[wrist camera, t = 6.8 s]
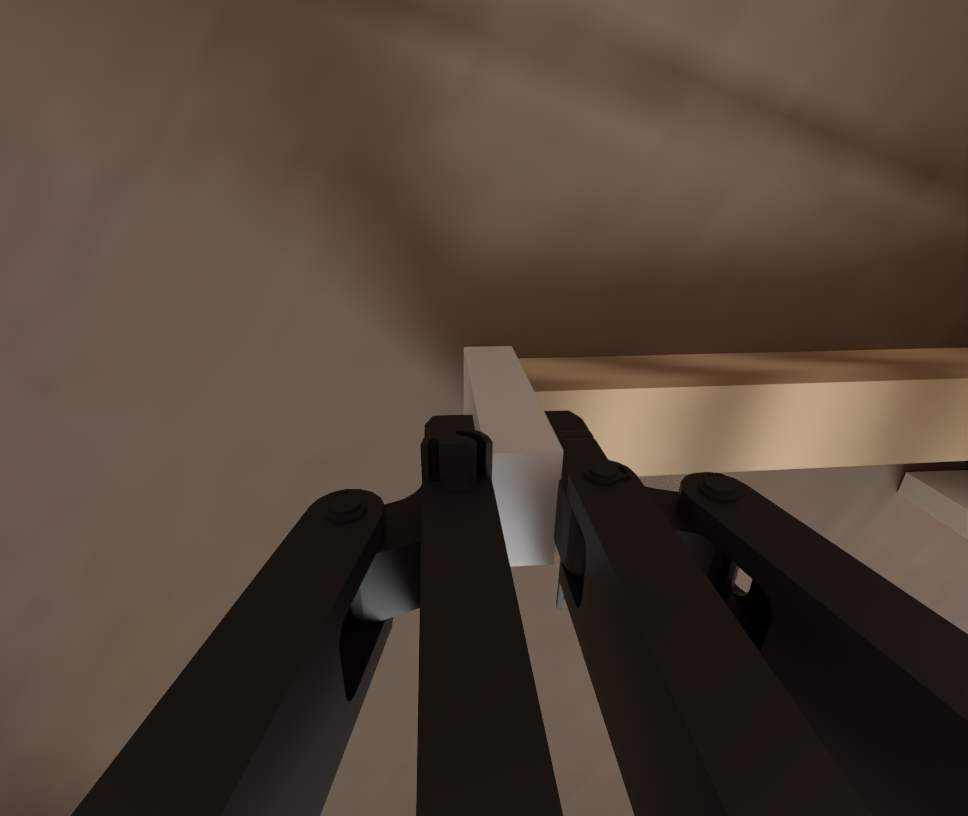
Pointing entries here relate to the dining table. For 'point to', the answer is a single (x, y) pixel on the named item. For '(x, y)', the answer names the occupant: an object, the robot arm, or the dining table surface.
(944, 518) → the tunnel
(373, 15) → the dining table surface
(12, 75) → the dining table surface
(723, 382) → the rod
